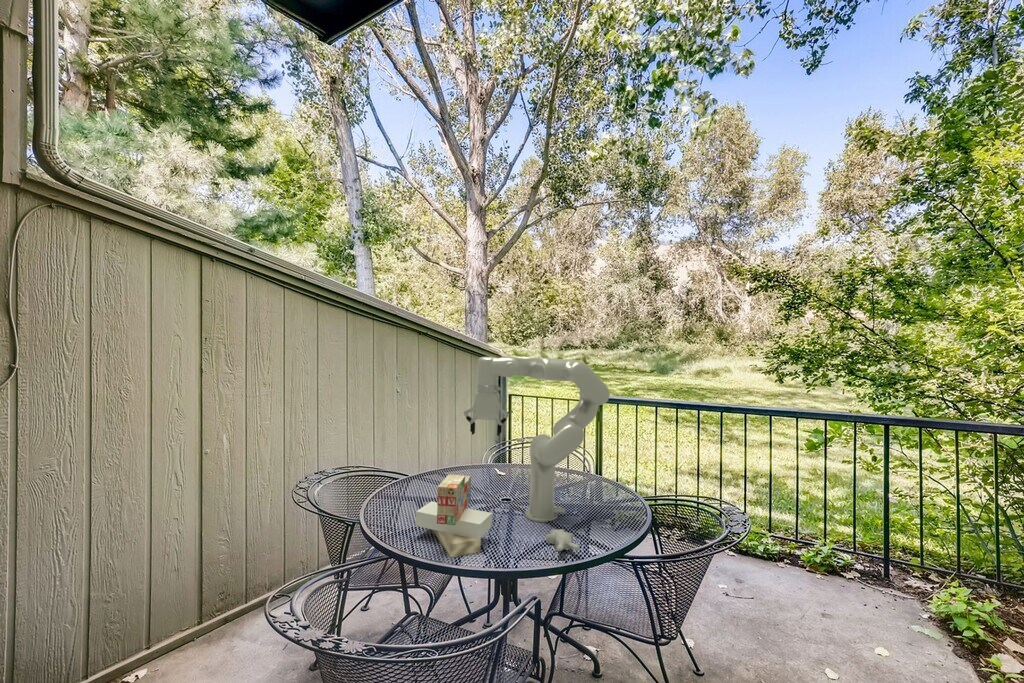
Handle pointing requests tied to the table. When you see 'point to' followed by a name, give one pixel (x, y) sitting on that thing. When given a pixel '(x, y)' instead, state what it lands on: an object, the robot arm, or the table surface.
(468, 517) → the upper slab
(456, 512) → the stack of blocks
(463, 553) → the lower slab
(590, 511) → the table surface
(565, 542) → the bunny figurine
